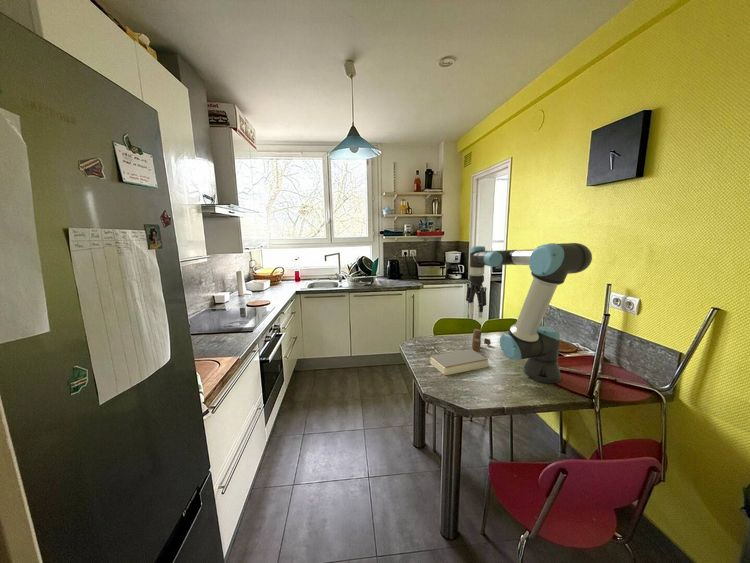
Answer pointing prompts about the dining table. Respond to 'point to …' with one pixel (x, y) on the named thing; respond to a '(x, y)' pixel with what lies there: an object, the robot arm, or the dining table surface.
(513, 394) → the dining table surface
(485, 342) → the wooden block set
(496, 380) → the dining table surface
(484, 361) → the two-tone flat slab
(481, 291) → the robot arm
